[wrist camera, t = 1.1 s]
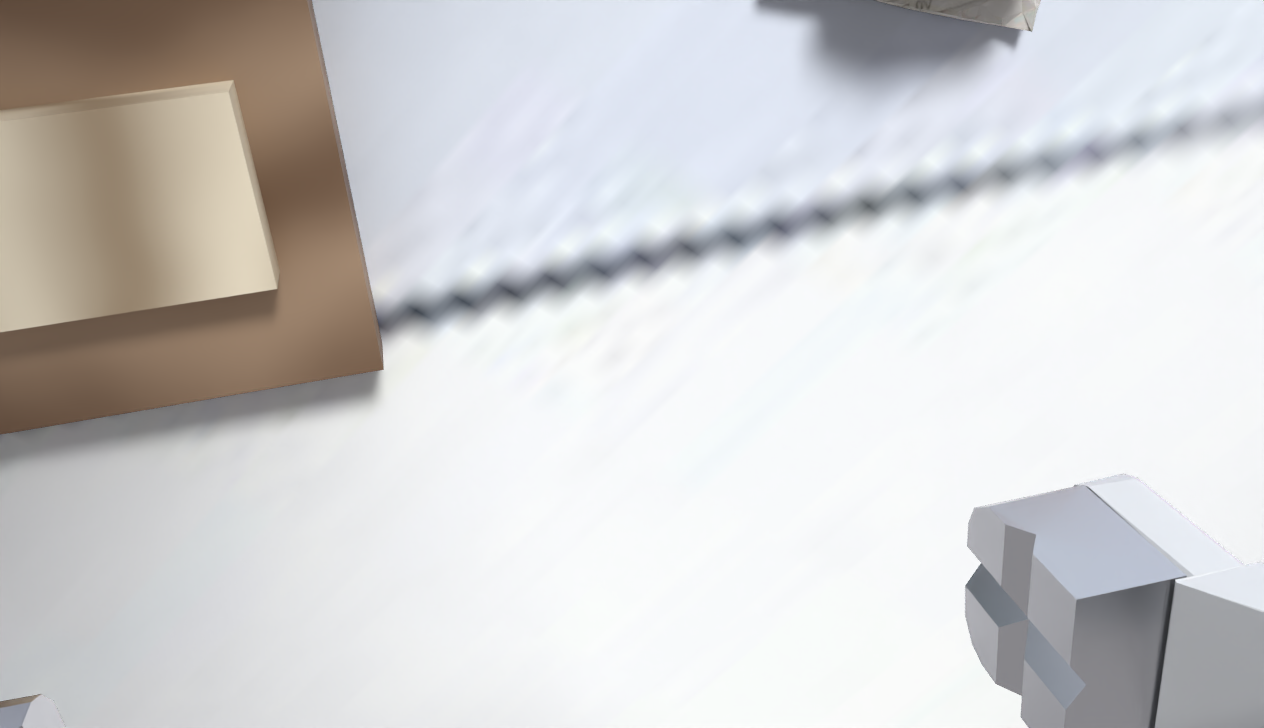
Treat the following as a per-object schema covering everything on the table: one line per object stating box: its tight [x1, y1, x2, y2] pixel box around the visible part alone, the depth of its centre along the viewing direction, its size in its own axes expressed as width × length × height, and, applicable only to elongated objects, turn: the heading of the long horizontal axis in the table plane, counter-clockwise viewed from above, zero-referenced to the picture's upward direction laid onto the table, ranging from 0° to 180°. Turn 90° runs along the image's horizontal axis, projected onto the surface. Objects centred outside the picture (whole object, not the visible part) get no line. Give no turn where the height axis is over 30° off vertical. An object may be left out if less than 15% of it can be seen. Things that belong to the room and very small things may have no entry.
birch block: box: [0, 80, 280, 332], centre depth 33 cm, size 9×6×2 cm, turn 95°
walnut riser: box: [0, 0, 384, 434], centre depth 35 cm, size 14×16×2 cm
